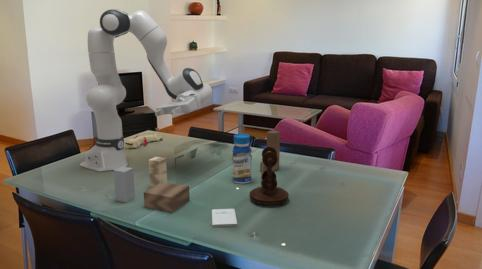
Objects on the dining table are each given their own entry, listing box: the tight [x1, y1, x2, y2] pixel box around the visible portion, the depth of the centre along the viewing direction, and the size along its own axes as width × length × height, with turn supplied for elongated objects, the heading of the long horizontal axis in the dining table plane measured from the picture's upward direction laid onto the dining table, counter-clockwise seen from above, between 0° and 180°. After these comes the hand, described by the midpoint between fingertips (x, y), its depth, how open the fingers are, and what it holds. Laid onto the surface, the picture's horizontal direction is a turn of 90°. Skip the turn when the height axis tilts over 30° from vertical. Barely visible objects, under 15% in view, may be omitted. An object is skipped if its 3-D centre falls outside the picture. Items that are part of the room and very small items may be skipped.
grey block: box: [113, 166, 136, 203], centre depth 161 cm, size 5×5×12 cm
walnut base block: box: [143, 182, 190, 213], centre depth 158 cm, size 12×12×6 cm
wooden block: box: [259, 129, 281, 173], centre depth 194 cm, size 9×4×18 cm, turn 139°
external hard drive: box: [211, 208, 238, 228], centre depth 146 cm, size 2×8×12 cm
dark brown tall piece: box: [248, 146, 289, 206], centre depth 160 cm, size 15×15×20 cm
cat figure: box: [124, 127, 164, 149], centre depth 239 cm, size 10×9×25 cm
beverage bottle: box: [231, 133, 253, 185], centre depth 180 cm, size 8×8×20 cm
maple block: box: [148, 156, 168, 189], centre depth 174 cm, size 5×5×12 cm
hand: (163, 113), depth 178 cm, fingers open, 8 cm apart
